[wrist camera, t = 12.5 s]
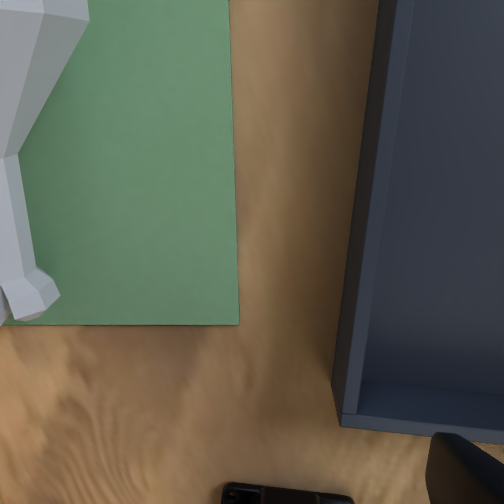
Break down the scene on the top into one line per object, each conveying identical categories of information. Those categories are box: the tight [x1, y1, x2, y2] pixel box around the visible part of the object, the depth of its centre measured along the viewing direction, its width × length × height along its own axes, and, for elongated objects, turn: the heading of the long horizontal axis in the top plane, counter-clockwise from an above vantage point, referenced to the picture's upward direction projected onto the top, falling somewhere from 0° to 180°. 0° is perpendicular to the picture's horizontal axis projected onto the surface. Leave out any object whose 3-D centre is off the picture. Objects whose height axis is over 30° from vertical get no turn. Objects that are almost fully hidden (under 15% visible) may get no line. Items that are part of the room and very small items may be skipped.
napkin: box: [2, 0, 240, 325], centre depth 19 cm, size 19×18×1 cm
